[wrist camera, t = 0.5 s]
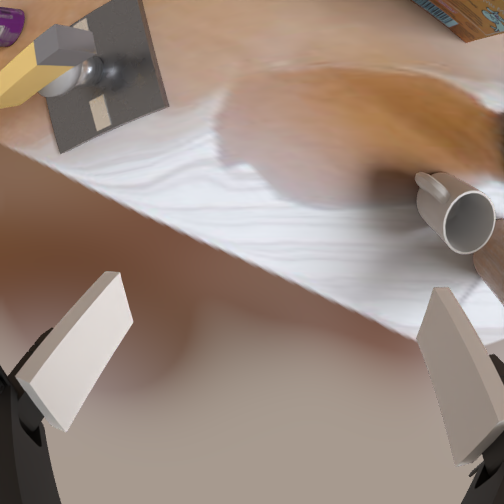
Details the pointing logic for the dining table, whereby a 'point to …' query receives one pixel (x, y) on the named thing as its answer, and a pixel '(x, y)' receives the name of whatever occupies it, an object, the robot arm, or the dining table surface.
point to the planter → (492, 261)
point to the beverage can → (10, 25)
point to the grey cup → (455, 211)
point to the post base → (110, 77)
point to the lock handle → (46, 65)
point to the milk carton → (468, 16)
